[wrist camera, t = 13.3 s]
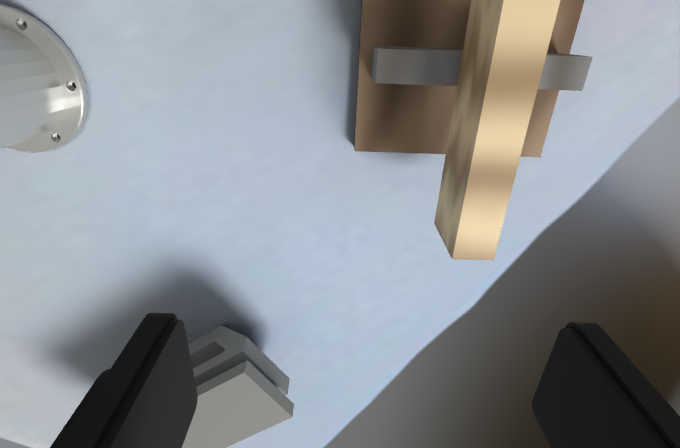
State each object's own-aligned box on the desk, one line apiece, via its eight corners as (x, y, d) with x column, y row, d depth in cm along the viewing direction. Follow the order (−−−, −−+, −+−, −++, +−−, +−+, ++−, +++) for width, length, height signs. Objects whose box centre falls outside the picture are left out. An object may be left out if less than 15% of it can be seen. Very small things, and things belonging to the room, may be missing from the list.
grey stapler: (162, 412, 56) (125, 493, 46) (120, 381, 53) (72, 460, 43) (300, 341, 50) (292, 416, 40) (263, 301, 47) (244, 372, 37)
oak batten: (498, -165, 23) (548, -223, 18) (551, -162, 23) (616, -219, 18) (434, 223, 35) (452, 259, 29) (469, 224, 35) (493, 260, 29)
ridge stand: (354, 146, 38) (357, 168, 32) (364, -49, 31) (370, -67, 25) (533, 152, 38) (567, 174, 33) (585, -39, 31) (641, -55, 25)
